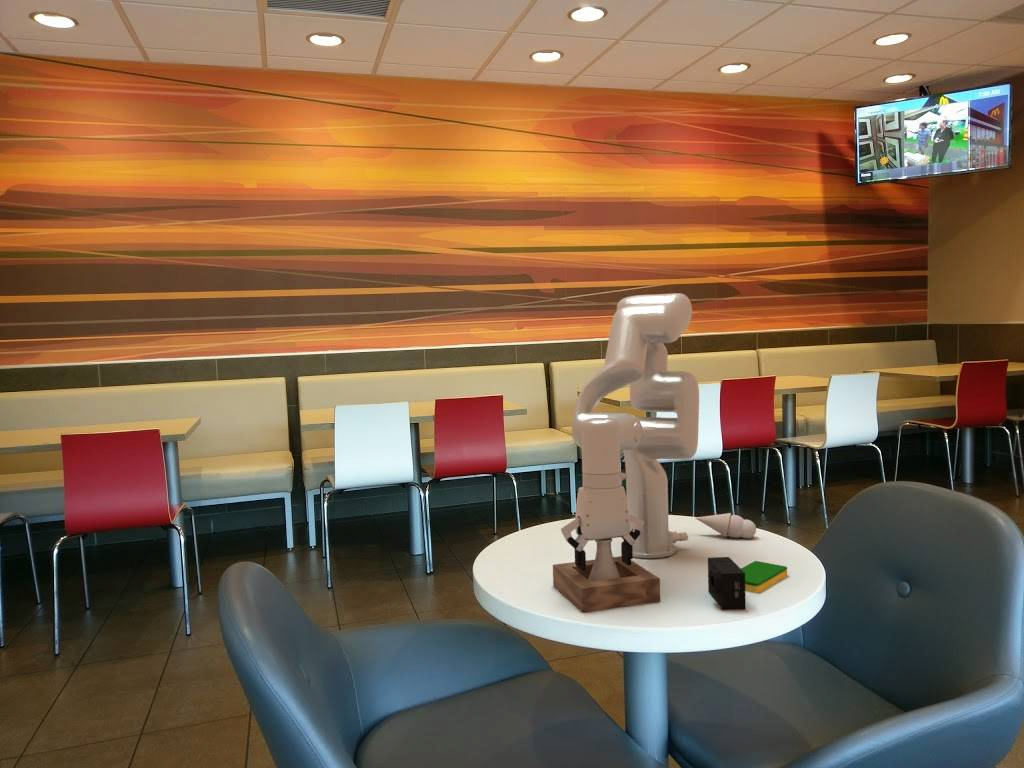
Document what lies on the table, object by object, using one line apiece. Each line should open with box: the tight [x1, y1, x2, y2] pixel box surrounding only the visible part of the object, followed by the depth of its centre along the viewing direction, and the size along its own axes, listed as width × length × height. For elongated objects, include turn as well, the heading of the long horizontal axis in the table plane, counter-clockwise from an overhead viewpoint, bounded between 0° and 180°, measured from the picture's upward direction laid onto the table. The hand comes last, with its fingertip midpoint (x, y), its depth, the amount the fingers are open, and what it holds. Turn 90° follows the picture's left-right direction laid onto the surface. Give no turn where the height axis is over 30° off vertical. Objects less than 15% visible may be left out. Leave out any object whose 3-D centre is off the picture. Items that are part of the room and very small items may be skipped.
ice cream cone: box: [694, 512, 757, 539], centre depth 189 cm, size 6×6×15 cm
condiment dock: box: [552, 555, 661, 613], centre depth 151 cm, size 16×16×4 cm
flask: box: [588, 538, 621, 582], centre depth 151 cm, size 7×7×10 cm
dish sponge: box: [740, 560, 788, 594], centre depth 156 cm, size 7×14×2 cm, turn 137°
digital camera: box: [707, 556, 747, 611], centre depth 145 cm, size 10×5×7 cm, turn 0°
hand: (604, 566), depth 151 cm, fingers open, 9 cm apart
